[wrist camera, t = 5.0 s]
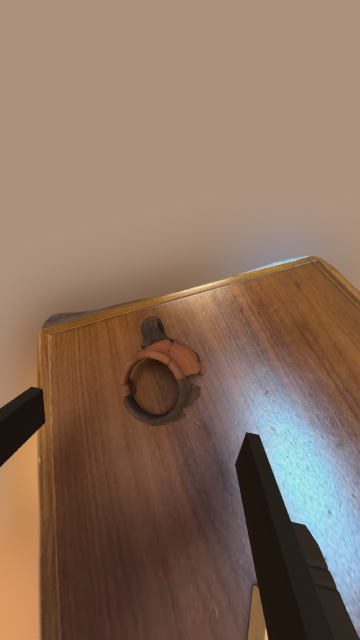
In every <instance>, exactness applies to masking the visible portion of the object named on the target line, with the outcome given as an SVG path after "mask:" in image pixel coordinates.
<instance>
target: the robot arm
mask: <svg viewBox="0 0 360 640" xmlns="http://www.w3.org/2000/svg"><path fill="white" fill-rule="evenodd" d="M44 423H45V413H44V401H43V389H40V388H35V387H30V388H29V389H28V390H26V391H25V392H23V393H22V394H20V395H19V396H18V397H16V398H15V399H13V400H12V401H10V402H9V403H7V404H6V405H5V406H3V407H2V408H0V467H1V466H2V465H3V464H4V463H5V462H6V461H7V460H8V459H9V458H10V457H11V456H12V455H13V454H14V453H15V452H16V451H17V450H18V449H19V448H20V447H21V446H22V445H23V444H24V443H25V442H26V441H27V440H28V439H29V438H30V437H31V436H32V435H33V434H34V433H35V432H36V431H37V430H38V429H39V428H40V427H41V426H42V425H43V424H44ZM235 466H236V472H237V477H238V482H239V487H240V493H241V498H242V503H243V509H244V514H245V519H246V525H247V530H248V535H249V540H250V546H251V551H252V556H253V562H254V567H255V572H256V578H257V583H258V588H259V593H260V599H261V604H262V609H263V615H264V620H265V625H266V631H267V636H268V640H359V637H358V635H357V633H356V630H355V628H354V626H353V623H352V621H351V619H350V617H349V614H348V612H347V610H346V607H345V605H344V603H343V601H342V598H341V596H340V594H339V592H338V591H337V589H336V584H335V582H334V580H333V578H332V575H331V573H330V571H329V570H328V566H327V564H326V562H325V559H324V557H323V555H322V552H321V550H320V548H319V545H318V544H317V542H316V541H315V539H314V538H313V536H312V535H311V533H310V532H309V530H308V529H307V527H306V526H305V525H303V524H299V523H295V522H291V520H290V518H289V515H288V512H287V509H286V507H285V504H284V501H283V499H282V496H281V493H280V490H279V488H278V485H277V482H276V480H275V477H274V474H273V471H272V469H271V466H270V463H269V461H268V458H267V455H266V452H265V450H264V447H263V444H262V442H261V439H260V436H259V435H257V434H252V433H247V432H246V435H245V438H244V441H243V443H242V446H241V449H240V452H239V455H238V458H237V461H236V464H235Z"/></svg>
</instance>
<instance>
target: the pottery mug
mask: <svg viewBox="0 0 360 640" xmlns="http://www.w3.org/2000/svg"><path fill="white" fill-rule="evenodd" d="M141 331H142V336H143V342H142V344H141V348H143V351H142V352H140V351H137V352H136V354H135V355H134V356H133V357H131V359H129V360H128V361H127V363H126V364H125V365H124V368H123V369H122V372H121V375H120V385H121V386H124V385H125V390H126V394H127V396H125V397H124V400H123V403H124V405H125V407H126V409H127V410H128V411H129V412H130V413H131V414H132V416H133V417H135V418H136V419H137V420H139V421H141V422H143V423H147V424H149V425H152V426H154V425H164V424H167V423H169V422H172V421H176V420H180V419H182V418H184V417H186V414H185V413H184V412H183V410H182V409H183V408H186V407H189V406H190V405H192V404H193V402H194V401H195V400H196V399H198V398H199V395H200V390H201V388H200V387H199V386H195V385H194V384H193V383H191V382H190V381H189V380H188V379H187V378H186V377H187V376H191V375H193V374H198V373H199V371H200V375H204V367H203V364H202V361H201V359H200V357H199V355H198V354H197V353H196V352H195V351H194V350H193V349H191V348H190V347H188V346H187V345H185V344H184V343H182V342H180V341H178V340H175V339H170V338H169V337H168V336H167V334H166V332H165V329H164V326H163V324H162V322H161V320H160V318H158V317H155V316H150V317H149V318H146V319H145V320H144V321H143V323H142V326H141ZM143 359H156V360H158V361H161V362H162V363H164V364H165V365H167V366H168V367H169V369H170V370H171V371H172V372H173V374H174V376H175V378H176V380H177V382H178V398H177V401H176V404H175V405H174V407H173V408H172V409H171V410H170V411H169V412H167V413H165V414H160V415H156V414H151V413H149V412H147V411H145V410H144V409H142V408H141V407H140V406H139V405H138V404H137V402H136V401H135V399H134V395H135V392H136V388H135V385H134V383H133V381H132V380H130V374H131V371H132V369H133V367H134V366H135V365H136V364H137V363H138V362H140V361H141V360H143Z"/></svg>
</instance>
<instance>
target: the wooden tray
mask: <svg viewBox="0 0 360 640" xmlns="http://www.w3.org/2000/svg"><path fill="white" fill-rule="evenodd" d="M248 640H268V636H267V631H266V625H265V620H264V615H263V609H262V604H261V599H260V593H259V588H258V587H256V586H255V585H253V592H252V602H251V612H250V622H249V631H248Z"/></svg>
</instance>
